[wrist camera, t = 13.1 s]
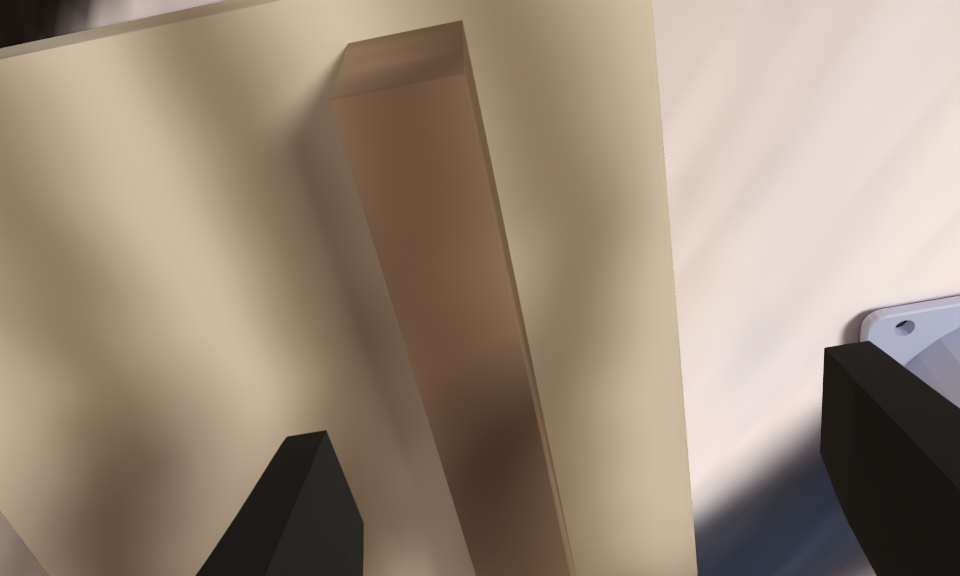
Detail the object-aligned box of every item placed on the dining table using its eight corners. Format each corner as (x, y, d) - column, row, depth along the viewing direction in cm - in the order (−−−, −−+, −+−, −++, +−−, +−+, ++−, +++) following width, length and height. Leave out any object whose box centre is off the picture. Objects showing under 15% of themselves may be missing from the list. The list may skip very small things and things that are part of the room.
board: (636, -87, 17) (645, -77, 16) (706, 738, 35) (712, 763, 34) (-259, 103, 19) (-292, 120, 18) (239, 798, 36) (234, 823, 36)
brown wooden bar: (462, 19, 17) (463, 74, 15) (575, 574, 27) (589, 667, 24) (348, 43, 17) (329, 100, 15) (502, 585, 27) (507, 678, 25)
